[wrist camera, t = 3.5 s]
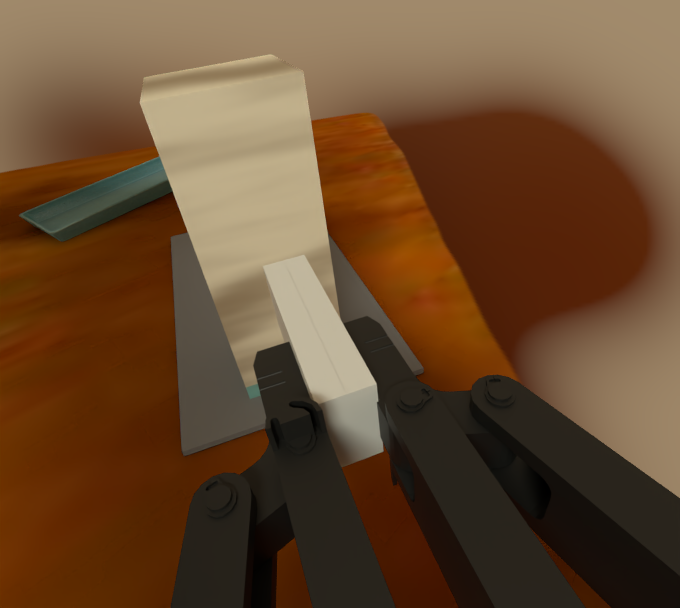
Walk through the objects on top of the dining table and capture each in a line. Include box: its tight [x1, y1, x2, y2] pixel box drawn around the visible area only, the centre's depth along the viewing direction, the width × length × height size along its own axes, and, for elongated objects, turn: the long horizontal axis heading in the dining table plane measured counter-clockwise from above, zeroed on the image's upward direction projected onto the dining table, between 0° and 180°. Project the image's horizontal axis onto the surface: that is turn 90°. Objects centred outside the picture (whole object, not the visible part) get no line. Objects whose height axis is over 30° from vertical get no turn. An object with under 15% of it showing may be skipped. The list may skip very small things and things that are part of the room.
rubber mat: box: [171, 232, 423, 456], centre depth 34 cm, size 26×14×1 cm, turn 19°
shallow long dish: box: [19, 156, 172, 241], centre depth 54 cm, size 26×9×2 cm, turn 141°
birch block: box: [140, 54, 340, 399], centre depth 23 cm, size 6×6×16 cm
